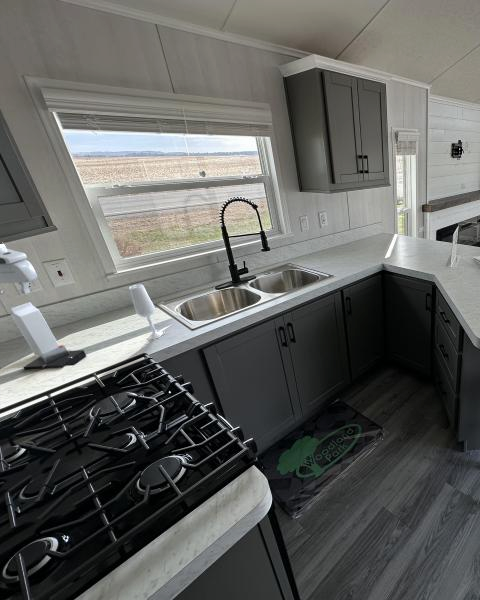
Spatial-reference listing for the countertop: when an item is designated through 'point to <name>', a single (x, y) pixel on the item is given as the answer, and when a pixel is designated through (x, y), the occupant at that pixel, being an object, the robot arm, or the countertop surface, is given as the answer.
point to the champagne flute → (143, 306)
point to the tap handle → (54, 354)
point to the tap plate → (57, 361)
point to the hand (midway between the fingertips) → (12, 293)
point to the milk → (34, 328)
